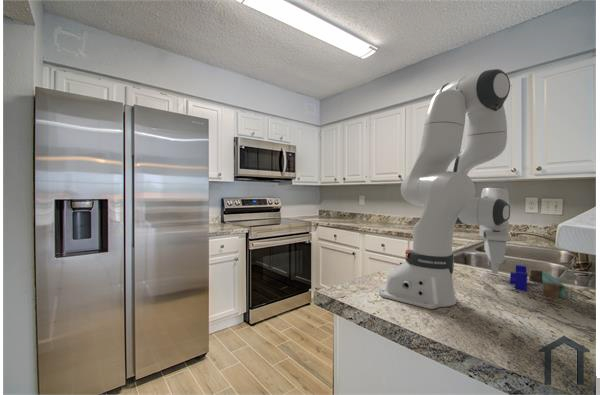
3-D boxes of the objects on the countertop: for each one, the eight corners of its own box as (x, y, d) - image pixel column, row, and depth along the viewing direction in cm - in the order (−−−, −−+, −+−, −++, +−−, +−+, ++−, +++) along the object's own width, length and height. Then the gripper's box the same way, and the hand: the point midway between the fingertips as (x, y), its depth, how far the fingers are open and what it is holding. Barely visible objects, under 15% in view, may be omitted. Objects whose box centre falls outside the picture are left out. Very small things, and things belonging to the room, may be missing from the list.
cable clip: (510, 279, 107) (510, 264, 106) (525, 282, 104) (526, 266, 104) (509, 289, 97) (510, 271, 97) (526, 292, 94) (527, 274, 94)
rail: (544, 296, 90) (545, 283, 90) (529, 279, 106) (529, 268, 106) (564, 299, 88) (565, 286, 88) (545, 281, 104) (545, 270, 104)
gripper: (480, 227, 114) (479, 261, 115) (486, 235, 96) (485, 276, 96) (499, 228, 111) (498, 263, 112) (509, 237, 93) (508, 279, 94)
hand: (492, 269), depth 104 cm, fingers open, 8 cm apart
